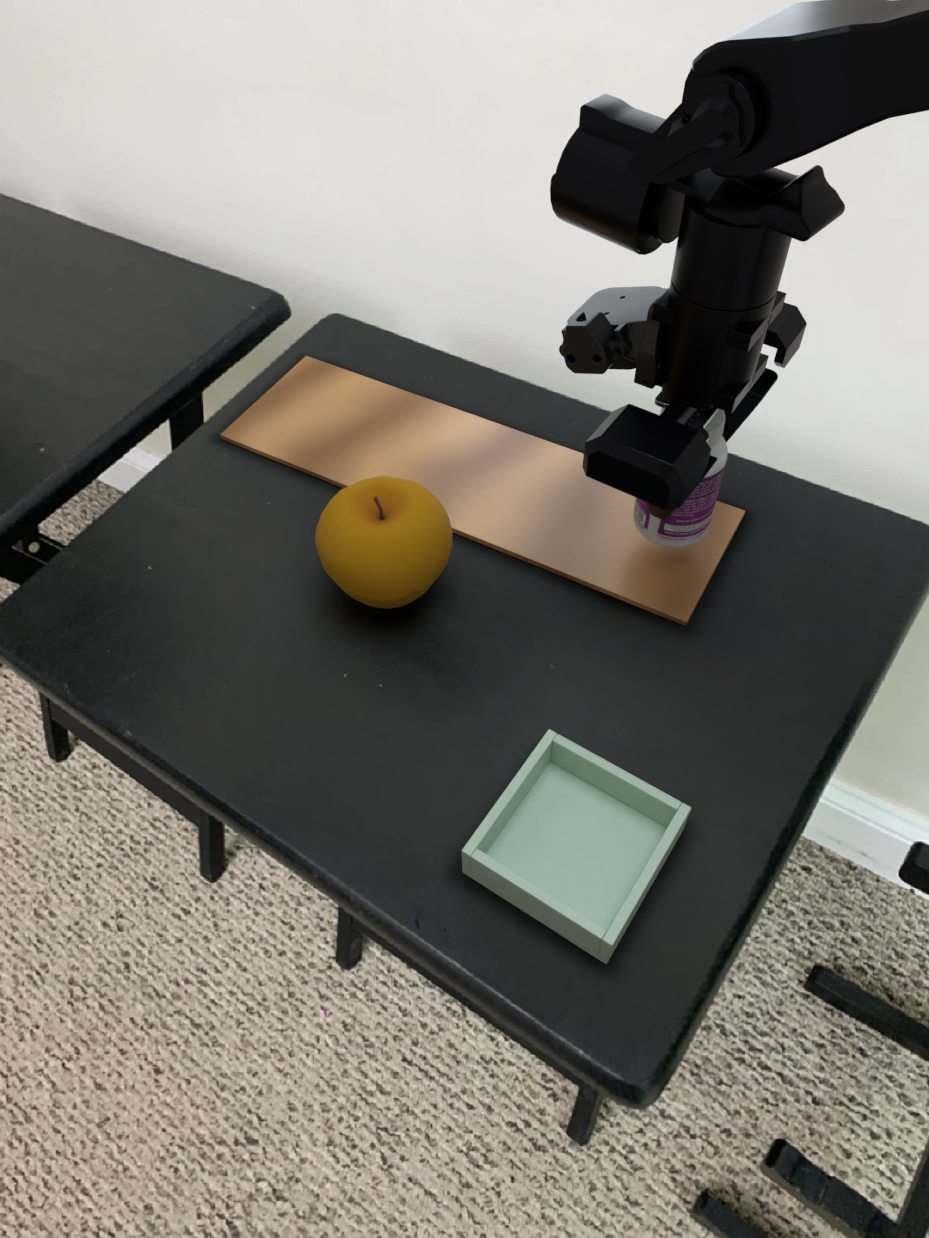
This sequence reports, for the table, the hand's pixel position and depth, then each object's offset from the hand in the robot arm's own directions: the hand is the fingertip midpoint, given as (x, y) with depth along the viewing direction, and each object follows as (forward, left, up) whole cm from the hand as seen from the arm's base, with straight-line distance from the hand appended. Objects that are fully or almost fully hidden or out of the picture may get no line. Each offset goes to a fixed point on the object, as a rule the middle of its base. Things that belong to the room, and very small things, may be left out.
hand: (677, 491), depth 62 cm
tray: (-13, +21, -6) cm, 25 cm away
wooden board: (+15, +6, -6) cm, 17 cm away
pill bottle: (0, 0, -3) cm, 3 cm away
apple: (+10, +18, -6) cm, 21 cm away
